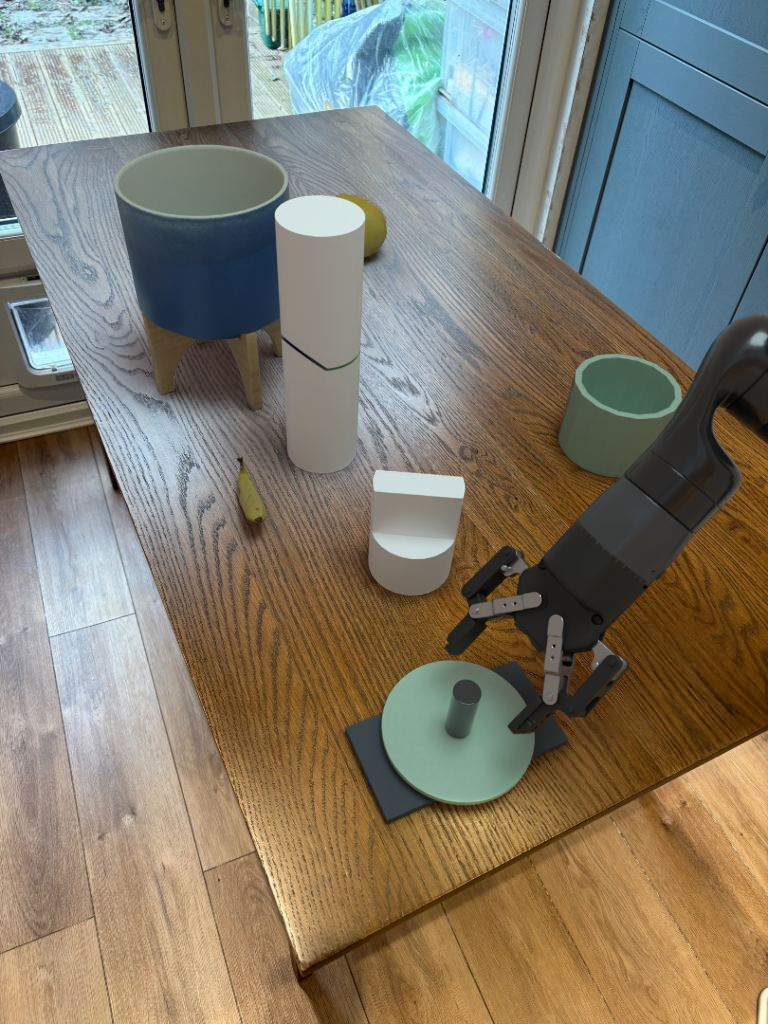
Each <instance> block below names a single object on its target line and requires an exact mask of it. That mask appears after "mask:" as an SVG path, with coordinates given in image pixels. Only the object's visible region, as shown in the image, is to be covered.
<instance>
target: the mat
mask: <svg viewBox="0 0 768 1024" xmlns="http://www.w3.org/2000/svg"><path fill="white" fill-rule="evenodd" d="M490 670H491V671H493V672H495V673H496V674H498V675H499V676H501V677H502V678H504V679H505V680H506V681H507V682H508V683H510V684H511V685H512V686H513V688H514V689H515V690H516V691H517V692H518V693H519V695H520V696H521V697H522V699H523V700H524V702H525V704H526V706H527V705H528V704H529V703H530V702H531V701H532V700H533V699H534V698H535V697H536V696H537V695H539V696H540V694H539V692H538V691H537V689H536V688H535V687H534V684H533V683H532V682H531V680H530V679H529V677H528V676H527V675H526V672H525V671H524V669H523V668H522V667H521V665H520V663H519V662H518V660H513V661H510V662H508V663H505V664H502V665H500V666H497V667H495V668H493V669H490ZM382 714H383V712H381V713H378V714H376V715H374V716H371V717H369V718H366V719H363V720H361V721H358V722H355V723H353V724H351V725H348V726H345V729H344V730H345V735H346V737H347V739H348V741H349V743H350V745H351V747H352V750H353V752H354V754H355V756H356V759H357V761H358V763H359V765H360V767H361V770H362V772H363V774H364V776H365V779H366V781H367V783H368V785H369V788H370V790H371V792H372V794H373V797H374V798H375V801H376V803H377V805H378V808H379V811H380V812H381V814H382V817H383V819H384V821H385V823H386V824H390V823H393V822H395V821H397V820H399V819H401V818H404V817H407V816H409V815H411V814H413V813H415V812H418V811H419V810H422V809H424V808H426V807H429V806H431V805H432V804H435V803H437V802H438V801H437V800H434V799H432V798H430V797H428V796H425V795H424V794H422V793H420V792H419V791H417V790H415V789H414V788H413V787H412V786H410V785H409V784H408V783H407V782H406V781H405V780H404V779H403V778H402V777H401V776H400V775H399V774H398V772H397V771H396V770H395V768H394V767H393V765H392V764H391V762H390V760H389V758H388V756H387V753H386V751H385V748H384V744H383V740H382V732H381V721H382ZM553 715H554V714H552V715H551V716H550V717H549V718H548V719H547V720H546V721H545V722H544V723H543V724H542V725H541V726H540V727H539V728H538V729H537V730H536V731H535V732H534V733H535V745H534V751H533V755H532V758H531V760H533V759H535V758H538V757H540V756H542V755H544V754H547V753H549V752H551V751H554V750H555V749H557V748H560V747H563V746H564V745H567V744H568V742H569V738H568V736H567V735H566V734H565V732H564V731H563V729H562V727H561V726H560V725H559V723H558V721H557V720H556V719H555V717H554V716H553Z"/></svg>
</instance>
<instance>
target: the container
mask: <svg viewBox="0 0 768 1024" xmlns="http://www.w3.org/2000/svg"><path fill="white" fill-rule="evenodd" d="M275 228H276V246H277V265H278V284H279V302H280V321H281V334H282V335H283V336H284V337H285V338H283V337H281V339H282V356H281V358H282V375H283V392H284V393H283V394H284V411H285V414H284V415H285V429H286V431H285V432H286V449H287V450H286V451H287V456H288V458H289V460H290V461H291V462H292V464H293V465H295V467H297V468H298V469H301V470H302V471H305V472H307V473H312V474H319V475H324V474H333V473H337V472H340V471H342V470H344V469H345V468H347V467H349V466H350V465H351V464H352V463H353V462H354V460H355V458H356V457H357V453H358V451H357V450H358V426H359V425H358V424H359V400H360V399H359V397H360V394H359V393H360V372H361V371H360V369H361V343H362V342H361V341H362V318H363V317H362V316H363V315H362V313H363V292H364V291H363V288H364V287H363V286H364V263H365V262H364V261H365V258H364V236H365V214H364V212H363V210H362V209H361V208H360V207H359V206H358V205H356V204H354V203H352V202H350V201H348V200H345V199H342V198H338V197H335V196H331V195H321V194H319V195H318V194H317V195H316V194H314V195H304V196H298V197H294V198H290V199H289V200H288V201H286V202H284V203H283V204H281V205H280V206H279V207H278V208H277V209H276V211H275Z"/></svg>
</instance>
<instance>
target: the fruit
mask: <svg viewBox="0 0 768 1024" xmlns="http://www.w3.org/2000/svg"><path fill="white" fill-rule="evenodd" d="M334 197H338V198H342V199H345V200H348V201H350V202H352V203H354V204H356V205H358V206H359V207H360V208H361V209H362V210H363V212H364V214H365V236H364V257H366V258H368V257H371V256H373V255H374V254H375V253H376V252H378V251H379V250H380V249H381V248H382V247H383V244H384V243H385V241H386V238H387V234H388V228H387V218H386V216H385V214H384V212H383V208H382V207H381V206H380V205H379V204H378V203H376V202H375V201H374V200H373V199H370V198H369V197H366V196H364V195H359V194H348V193H344V192H343V193H339V194H337V195H336V196H334ZM367 256H368V257H367Z"/></svg>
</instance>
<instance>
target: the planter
mask: <svg viewBox="0 0 768 1024" xmlns="http://www.w3.org/2000/svg"><path fill="white" fill-rule="evenodd" d="M289 179H290V178H289V176H288V172H287V171H286V170H285V168H284V166H282V164H280V163H279V162H277V161H276V160H275V159H273V158H271V157H269V156H267V155H265V154H263V153H261V152H257V151H254V150H251V149H246V148H241V147H237V146H230V145H223V144H222V145H221V144H189V145H188V144H187V145H179V146H173V147H172V146H171V147H166V148H162V149H157V150H154V151H150V152H147V153H145V154H142V155H140V156H137V157H135V158H133V159H131V160H130V161H128V162H127V163H125V164H124V165H123V166H122V167H120V168H119V170H118V171H117V172H116V173H115V176H114V178H113V191H114V196H115V199H116V205H117V210H118V213H119V219H120V223H121V228H122V234H123V238H124V243H125V247H126V252H127V256H128V257H127V258H128V261H129V266H130V272H131V276H132V280H133V285H134V289H135V294H136V299H137V304H138V307H139V309H140V311H141V317H142V321H143V327H144V330H145V331H144V332H145V335H146V341H147V345H148V350H149V355H150V359H151V364H152V368H153V369H152V370H153V374H154V379H155V383H156V387H157V388H156V389H157V391H158V392H159V393H160V395H161V396H163V395H165V394H169V393H172V392H175V391H176V387H175V380H176V379H175V378H176V373H177V369H178V366H179V364H180V363H181V360H182V358H183V357H184V355H185V354H186V352H187V351H188V350H189V349H190V348H191V347H192V346H193V345H194V344H195V343H197V344H198V345H199V344H202V343H205V342H208V341H225V342H226V343H227V345H228V346H229V349H230V351H231V353H232V355H233V358H234V360H235V362H236V365H237V367H238V370H239V373H240V377H241V380H242V383H243V387H244V392H245V397H246V403H247V405H248V406H249V408H250V409H252V411H257V410H260V409H262V408H263V407H264V405H263V404H264V403H263V394H262V393H263V392H262V383H261V370H260V369H261V368H260V359H259V358H260V357H259V348H258V336H257V335H258V333H257V332H258V331H260V330H262V331H263V332H265V333H266V334H267V335H268V337H269V339H270V341H271V344H272V347H273V353H274V354H275V355H276V356H277V357H278V358H280V357H282V339H281V337H283V338H285V337H284V336H283V335H282V334H281V321H280V302H279V284H278V265H277V246H276V228H275V211H276V209H277V208H278V207H279V206H280V205H281V204H283V203H284V202H286V201H288V200H290V182H289Z"/></svg>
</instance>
